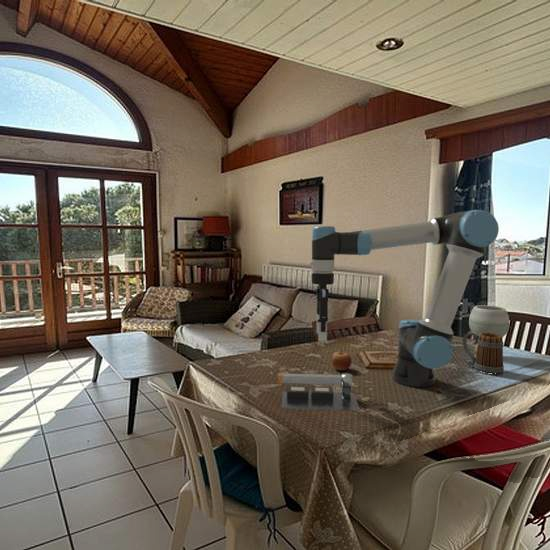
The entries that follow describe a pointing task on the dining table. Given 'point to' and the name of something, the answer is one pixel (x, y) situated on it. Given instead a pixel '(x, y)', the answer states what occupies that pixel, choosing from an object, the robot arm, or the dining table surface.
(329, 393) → the power supply
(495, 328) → the planter
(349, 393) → the chassis
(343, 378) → the cable arm
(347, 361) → the apple
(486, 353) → the mug
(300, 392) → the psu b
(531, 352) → the dining table surface
